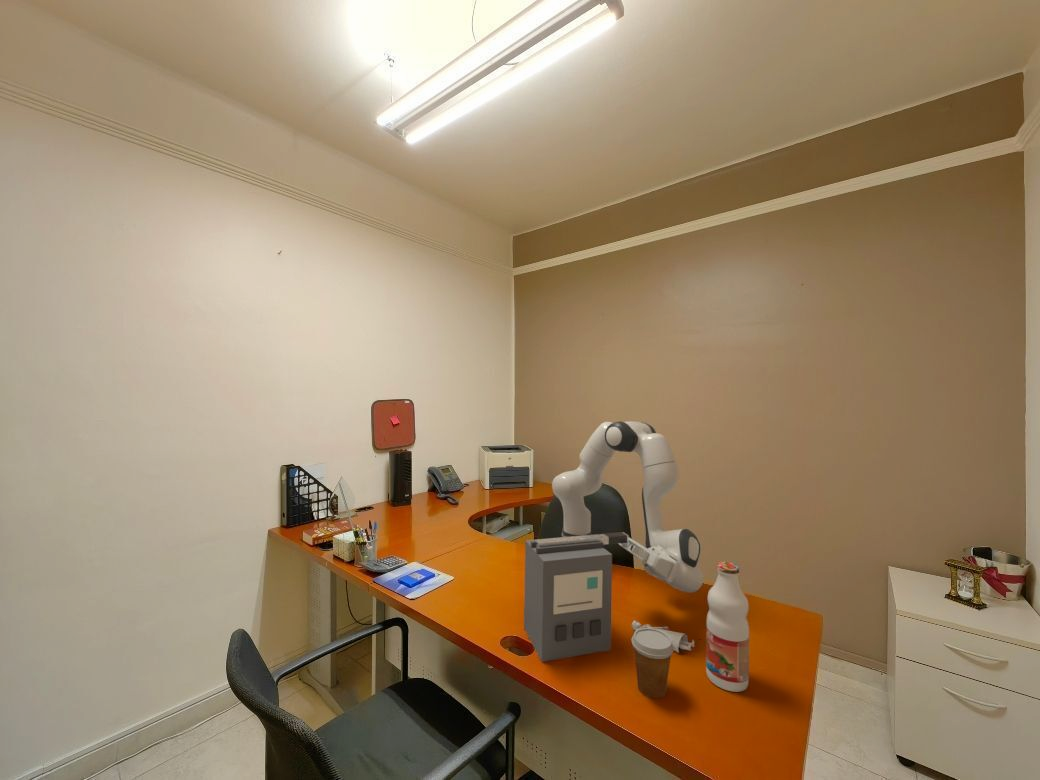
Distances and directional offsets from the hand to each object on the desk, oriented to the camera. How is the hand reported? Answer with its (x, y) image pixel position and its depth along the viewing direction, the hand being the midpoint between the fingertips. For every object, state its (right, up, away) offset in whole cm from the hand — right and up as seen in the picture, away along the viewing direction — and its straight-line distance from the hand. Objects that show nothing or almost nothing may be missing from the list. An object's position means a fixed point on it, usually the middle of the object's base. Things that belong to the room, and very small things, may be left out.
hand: (623, 542), depth 122 cm
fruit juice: (+20, -26, -22) cm, 39 cm away
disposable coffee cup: (0, -26, -25) cm, 36 cm away
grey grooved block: (-18, -25, -6) cm, 32 cm away
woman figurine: (+9, -26, -5) cm, 29 cm away
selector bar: (-13, +1, -4) cm, 13 cm away
